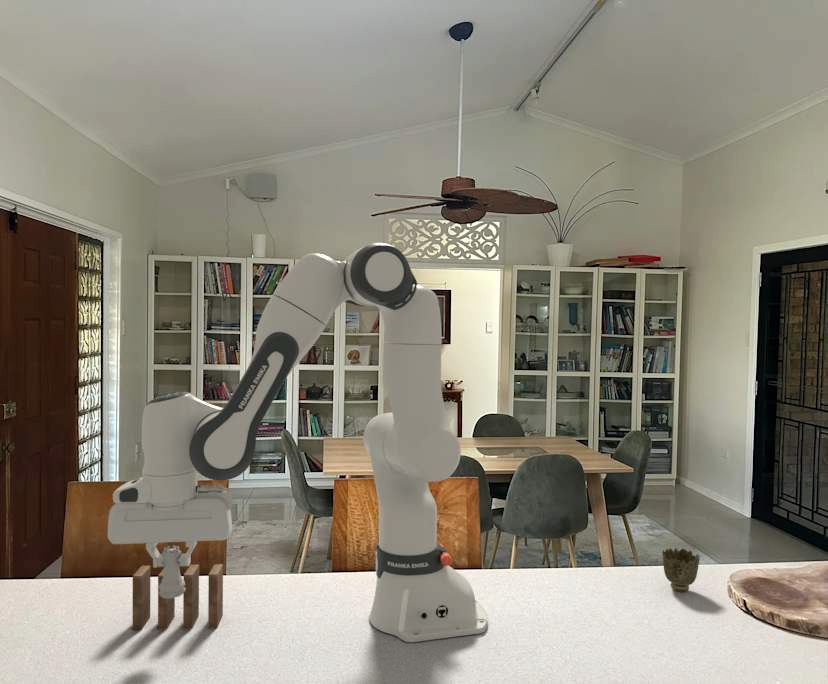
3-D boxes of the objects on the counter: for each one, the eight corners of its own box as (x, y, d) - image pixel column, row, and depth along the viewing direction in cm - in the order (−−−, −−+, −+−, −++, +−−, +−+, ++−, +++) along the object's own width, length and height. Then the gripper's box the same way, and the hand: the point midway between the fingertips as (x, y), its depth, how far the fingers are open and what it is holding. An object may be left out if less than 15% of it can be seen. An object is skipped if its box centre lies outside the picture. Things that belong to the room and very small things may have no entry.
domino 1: (150, 617, 122) (150, 565, 122) (141, 629, 117) (141, 575, 117) (141, 617, 122) (141, 565, 122) (132, 630, 117) (132, 576, 117)
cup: (654, 585, 141) (654, 549, 141) (681, 581, 143) (682, 546, 143) (677, 599, 134) (678, 561, 134) (706, 595, 136) (707, 557, 136)
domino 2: (174, 616, 123) (174, 565, 123) (166, 629, 118) (167, 575, 118) (165, 617, 123) (166, 565, 122) (157, 629, 118) (158, 575, 117)
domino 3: (198, 616, 123) (199, 564, 123) (192, 628, 118) (192, 574, 118) (190, 616, 123) (190, 564, 123) (183, 628, 118) (183, 575, 118)
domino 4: (222, 615, 124) (223, 564, 123) (217, 627, 119) (217, 574, 118) (214, 615, 123) (214, 564, 123) (208, 628, 119) (208, 574, 118)
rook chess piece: (177, 600, 109) (176, 553, 108) (153, 598, 110) (152, 552, 109) (190, 589, 113) (189, 544, 113) (167, 587, 114) (166, 542, 114)
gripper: (235, 480, 115) (236, 556, 115) (116, 483, 113) (118, 561, 114) (228, 489, 109) (229, 570, 109) (102, 493, 107) (104, 575, 107)
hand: (172, 565), depth 111 cm, fingers closed on rook chess piece, 3 cm apart
